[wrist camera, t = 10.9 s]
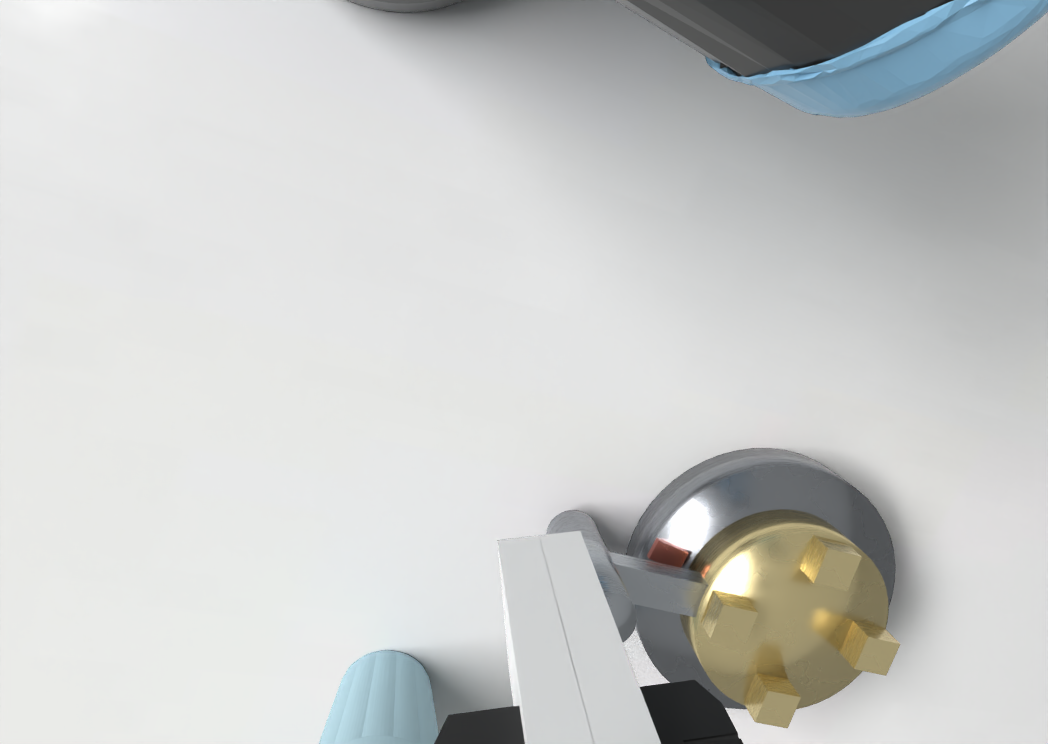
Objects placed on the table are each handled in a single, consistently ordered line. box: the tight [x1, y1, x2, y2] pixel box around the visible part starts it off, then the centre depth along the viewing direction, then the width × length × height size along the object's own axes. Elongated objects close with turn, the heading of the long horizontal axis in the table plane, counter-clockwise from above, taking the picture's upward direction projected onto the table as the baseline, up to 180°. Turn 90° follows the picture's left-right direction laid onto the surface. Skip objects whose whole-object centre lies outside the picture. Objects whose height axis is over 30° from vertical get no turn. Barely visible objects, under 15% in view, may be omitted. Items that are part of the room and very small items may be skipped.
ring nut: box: [546, 509, 900, 728], centre depth 41 cm, size 19×11×9 cm, turn 73°
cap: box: [626, 448, 895, 709], centre depth 45 cm, size 16×16×3 cm
